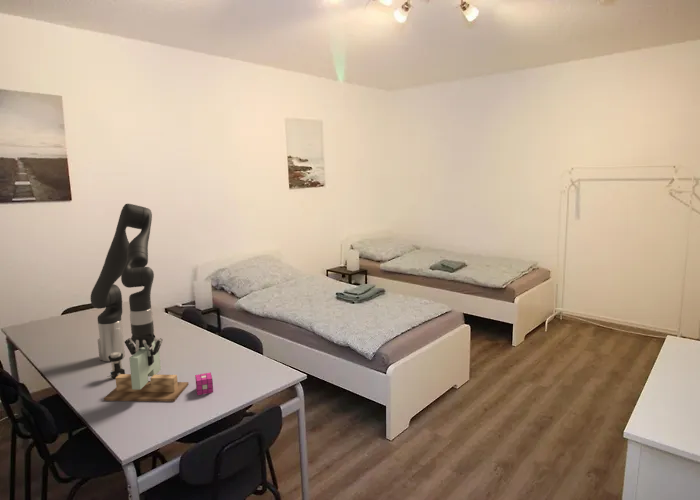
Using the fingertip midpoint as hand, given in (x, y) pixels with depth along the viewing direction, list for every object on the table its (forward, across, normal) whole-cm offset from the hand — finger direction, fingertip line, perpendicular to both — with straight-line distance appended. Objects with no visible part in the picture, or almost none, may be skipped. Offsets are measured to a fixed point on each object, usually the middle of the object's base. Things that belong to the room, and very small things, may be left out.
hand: (145, 364), depth 164 cm
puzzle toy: (+11, -21, -2) cm, 24 cm away
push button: (+11, +19, -12) cm, 25 cm away
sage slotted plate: (+6, 0, 0) cm, 6 cm away
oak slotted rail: (+11, 0, 0) cm, 11 cm away
